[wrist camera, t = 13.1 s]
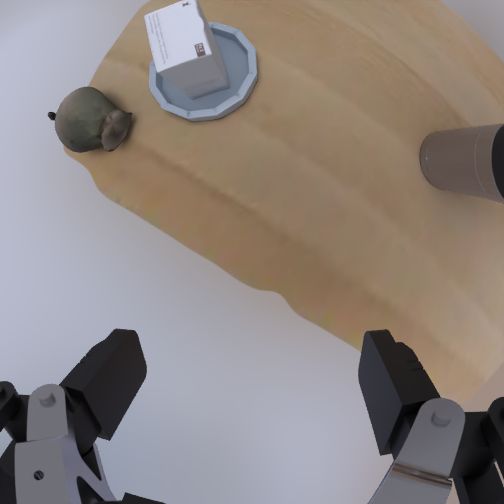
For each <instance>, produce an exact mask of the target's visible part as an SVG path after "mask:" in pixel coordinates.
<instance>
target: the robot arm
mask: <svg viewBox="0 0 504 504" xmlns="http://www.w3.org/2000/svg"><path fill="white" fill-rule="evenodd" d="M420 162H421V167H422V171H423V173H424V175H425V177H426V178H427V180H428V181H429V182H430V183H431V184H432V185H434V186H435V187H437V188H440V189H444V190H449V191H453V192H458V193H462V194H467V195H471V196H476V197H480V198H484V199H488V200H493V201H497V202H501V203H504V124H495V125H487V126H478V127H470V128H462V129H454V130H447V131H440V132H435V133H432V134H430V135H429V136H428V137H427V138H426V139H425V140H424V142H423V144H422V147H421V151H420ZM146 373H147V366H146V362H145V358H144V356H143V352H142V348H141V345H140V341H139V337H138V335H137V333H136V331H134V330H126V329H115V330H113V332H111V334H110V335H109V336H108V337H107V338H106V339H105V340H103V341H101V342H100V343H98V344H96V345H95V346H93V347H92V348H91V349H90V350H89V352H88V353H87V354H86V356H84V357H83V358H82V359H81V361H80V363H78V364H77V365H76V366H75V367H74V368H73V370H72V371H71V372H70V373H69V374H68V375H67V376H66V377H65V379H64V380H63V381H62V382H61V383H60V384H59V385H56V384H47V385H43V386H41V387H39V388H37V389H36V390H35V391H33V393H32V394H31V395H18V393H17V391H16V389H15V388H14V386H13V384H12V383H10V382H8V381H2V382H0V432H1V431H2V429H3V428H5V430H6V431H7V432H8V434H9V435H10V436H11V438H12V439H13V440H12V441H11V443H10V444H9V446H8V447H7V449H6V450H5V452H4V453H3V455H2V456H1V458H0V504H165V503H162V502H158V501H154V500H150V499H146V498H143V497H139V496H136V495H132V494H129V493H126V492H125V495H124V497H123V499H122V501H117V500H116V499H115V497H114V495H113V494H112V492H111V490H110V488H109V486H108V483H107V480H106V477H105V474H104V470H103V467H102V463H101V459H100V456H99V452H98V448H97V445H96V444H95V440H96V438H97V437H99V438H102V439H106V440H109V441H110V440H111V438H112V436H113V434H114V432H115V431H116V429H117V427H118V425H119V424H120V422H121V420H122V418H123V416H124V415H125V413H126V411H127V409H128V408H129V406H130V404H131V403H132V401H133V399H134V397H135V396H136V393H137V392H138V390H139V388H140V387H141V385H142V383H143V382H144V380H145V377H146ZM358 377H359V384H360V387H361V390H362V393H363V397H364V400H365V403H366V407H367V410H368V413H369V417H370V420H371V424H372V427H373V431H374V434H375V438H376V442H377V445H378V449H379V453H380V455H387V454H391V453H392V455H393V459H394V461H393V463H392V465H391V466H390V468H389V470H388V472H387V474H386V475H385V477H384V479H383V480H382V482H381V484H380V485H379V487H378V489H377V490H376V492H375V493H374V495H373V496H372V498H371V499H370V501H369V502H368V504H445V503H446V501H447V499H448V496H449V493H450V491H451V487H452V481H451V480H448V478H453V481H454V484H455V488H456V491H457V495H458V498H459V502H460V504H504V487H503V484H502V481H501V479H500V476H499V474H498V471H497V468H496V466H495V464H494V463H495V462H496V461H497V464H498V466H499V469H500V471H501V473H502V476H503V479H504V397H500V398H498V399H496V400H494V401H493V402H492V404H491V405H490V407H489V409H488V411H487V412H486V411H485V412H464V411H463V409H462V408H461V406H460V405H458V404H457V403H456V402H454V401H452V400H449V399H445V398H441V397H440V395H439V393H438V392H437V390H436V388H435V386H434V385H433V383H432V381H431V379H430V378H429V376H428V374H427V373H426V371H425V369H424V370H423V366H422V364H421V363H420V361H418V358H417V356H416V355H415V353H414V352H413V350H412V349H411V348H409V347H408V346H407V345H405V344H404V343H402V342H397V343H396V342H395V340H394V339H393V337H392V335H391V334H390V332H389V330H387V329H385V330H374V331H366V333H365V335H364V340H363V346H362V352H361V358H360V363H359V370H358Z"/></svg>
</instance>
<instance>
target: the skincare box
mask: <svg viewBox="0 0 504 504" xmlns="http://www.w3.org/2000/svg"><path fill="white" fill-rule="evenodd" d="M144 18H145V23H146V28H147V33H148V38H149V43H150V47H151V51H152V55H153V60H154V64H155V67H156V71H157V73H158V74H160V75H161V76H163V77H164V78H165V79H167V80H168V81H169V82H170V83H172V84H173V85H174V86H175V87H177V88H178V89H179V90H181V91H182V92H183V93H184V94H186V95H187V96H188V97H189V98H191V99H192V100H194V99H196V98H199V97H202V96H206V95H209V94H212V93H215V92H219V91H222V90H226V89H229V88H230V83H229V79H228V75H227V71H226V68H225V65H224V62H223V59H222V56H221V54H220V52H219V48H218V44H217V42H216V40H215V38H214V35H213V33H212V31H211V28H210V26H209V24H208V22H207V20H206V18H205V16H204V14H203V11H202V9H201V7H200V5H199V3H198V1H197V0H183V1H180V2H177V3H175V4H172V5H170V6H167V7H165V8H162V9H159V10H157V11H154V12H152V13H149V14H147V15H145V16H144Z"/></svg>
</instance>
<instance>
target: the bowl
mask: <svg viewBox="0 0 504 504" xmlns="http://www.w3.org/2000/svg"><path fill="white" fill-rule="evenodd" d="M208 24H209V26H210V28H211V31H212V33H213V35H214V38H215V40H216V42H217V44H218V48H219V52H220V54H221V56H222V59H223V62H224V65H225V68H226V71H227V75H228V79H229V83H230V88H229V89H226V90H222V91H219V92H215V93H212V94H209V95H206V96H202V97H199V98H196V99H194V100H192V99H191V98H189V97H188V96H187V95H186V94H184V93H183V92H182V91H181V90H179V89H178V88H177V87H175V86H174V85H173V84H172V83H170V82H169V81H168V80H167V79H165V78H164V77H163V76H161V75H160V74H158V73H157V71H156V67H155V64H154V60H152V61H151V63H150V74H149V89H150V91H151V92H152V94H153V95H154V97H155V98H156V100H157V101H158V103H159V104H160V106H161V107H162V109H164V110H166V111H168V112H171V113H173V114H176V115H178V116H181V117H183V118H185V119H188V120H190V121H208V120H214V119H218V118H221V117H223V116H226V115H228V114H230V113H231V112H233V111H235V110H236V109H237V108H239V107H240V106H241V105H242V104H243V103H245V101H246V100H247V98H248V97H249V96H250V94H251V93H252V91H253V89H254V87H255V83H256V82H257V80H258V72H257V70H258V68H257V57H256V50H255V48H254V46H253V45H252V44H251V43H250V42H249V40H248V39H247V38H246V37H245V36H244V35H243V33H242V32H241V31H240V30H239V29H236V28H233V27H230V26H226V25H223V24H220V23H216V22H209V23H208Z"/></svg>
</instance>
